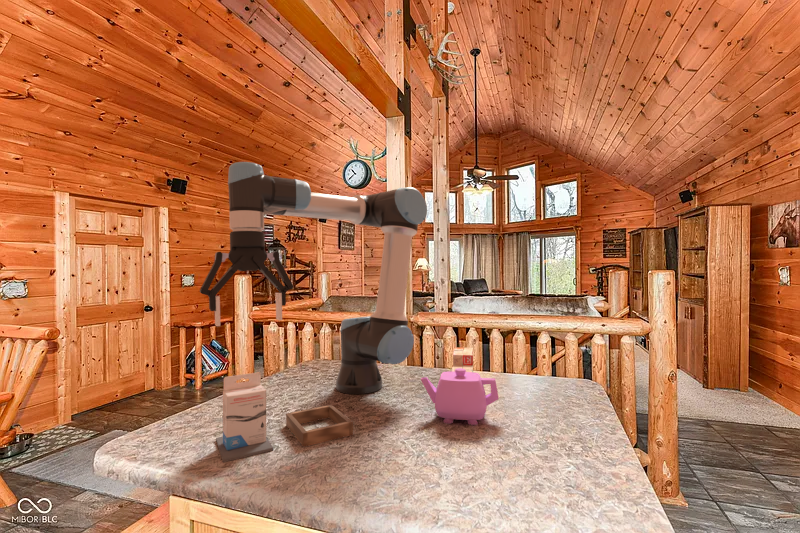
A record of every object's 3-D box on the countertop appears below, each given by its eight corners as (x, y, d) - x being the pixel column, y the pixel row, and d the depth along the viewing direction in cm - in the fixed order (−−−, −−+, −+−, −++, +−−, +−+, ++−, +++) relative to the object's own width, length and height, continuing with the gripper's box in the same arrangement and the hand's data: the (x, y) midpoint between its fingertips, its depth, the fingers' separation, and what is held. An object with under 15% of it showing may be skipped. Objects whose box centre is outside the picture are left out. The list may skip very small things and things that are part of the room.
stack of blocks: (473, 405, 113) (472, 362, 113) (450, 404, 114) (450, 361, 114) (473, 383, 134) (473, 347, 134) (454, 382, 135) (454, 346, 135)
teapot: (497, 411, 108) (496, 364, 108) (500, 429, 96) (500, 377, 96) (424, 407, 111) (423, 362, 111) (418, 424, 99) (418, 374, 99)
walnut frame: (331, 415, 105) (331, 404, 105) (353, 434, 93) (353, 422, 93) (286, 425, 99) (286, 413, 99) (303, 447, 87) (303, 433, 87)
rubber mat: (261, 430, 96) (261, 428, 96) (273, 450, 86) (273, 447, 86) (216, 440, 91) (216, 437, 91) (223, 462, 81) (223, 459, 81)
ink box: (226, 451, 84) (225, 382, 84) (222, 443, 88) (221, 377, 88) (267, 441, 89) (266, 376, 89) (261, 433, 93) (261, 371, 93)
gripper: (295, 233, 102) (297, 315, 102) (185, 231, 88) (187, 326, 89) (305, 231, 95) (307, 319, 96) (187, 228, 82) (190, 330, 82)
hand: (249, 322), depth 92 cm, fingers open, 13 cm apart
